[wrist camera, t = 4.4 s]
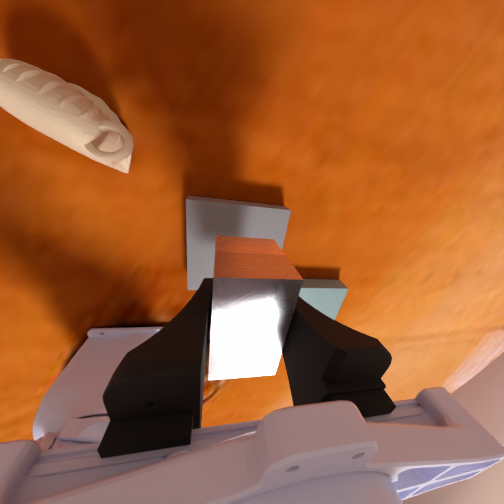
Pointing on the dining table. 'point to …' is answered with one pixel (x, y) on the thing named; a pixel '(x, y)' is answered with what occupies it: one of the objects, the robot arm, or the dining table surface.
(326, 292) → the stand
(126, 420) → the robot arm
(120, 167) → the decorative ornament
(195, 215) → the stand
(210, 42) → the dining table surface
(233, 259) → the block
